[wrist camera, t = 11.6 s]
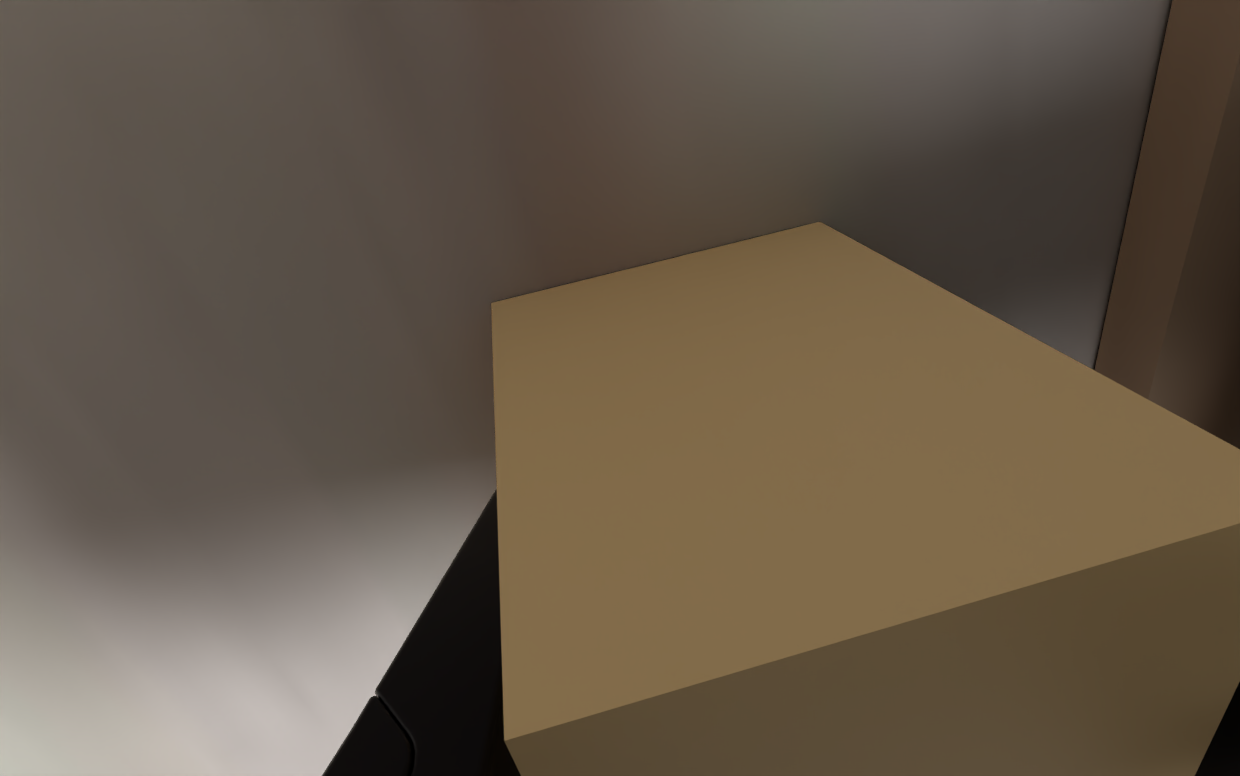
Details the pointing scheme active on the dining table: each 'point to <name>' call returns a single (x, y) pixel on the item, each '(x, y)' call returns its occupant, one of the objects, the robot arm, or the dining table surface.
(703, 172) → the dining table surface
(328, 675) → the dining table surface
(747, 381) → the ochre block
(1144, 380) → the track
